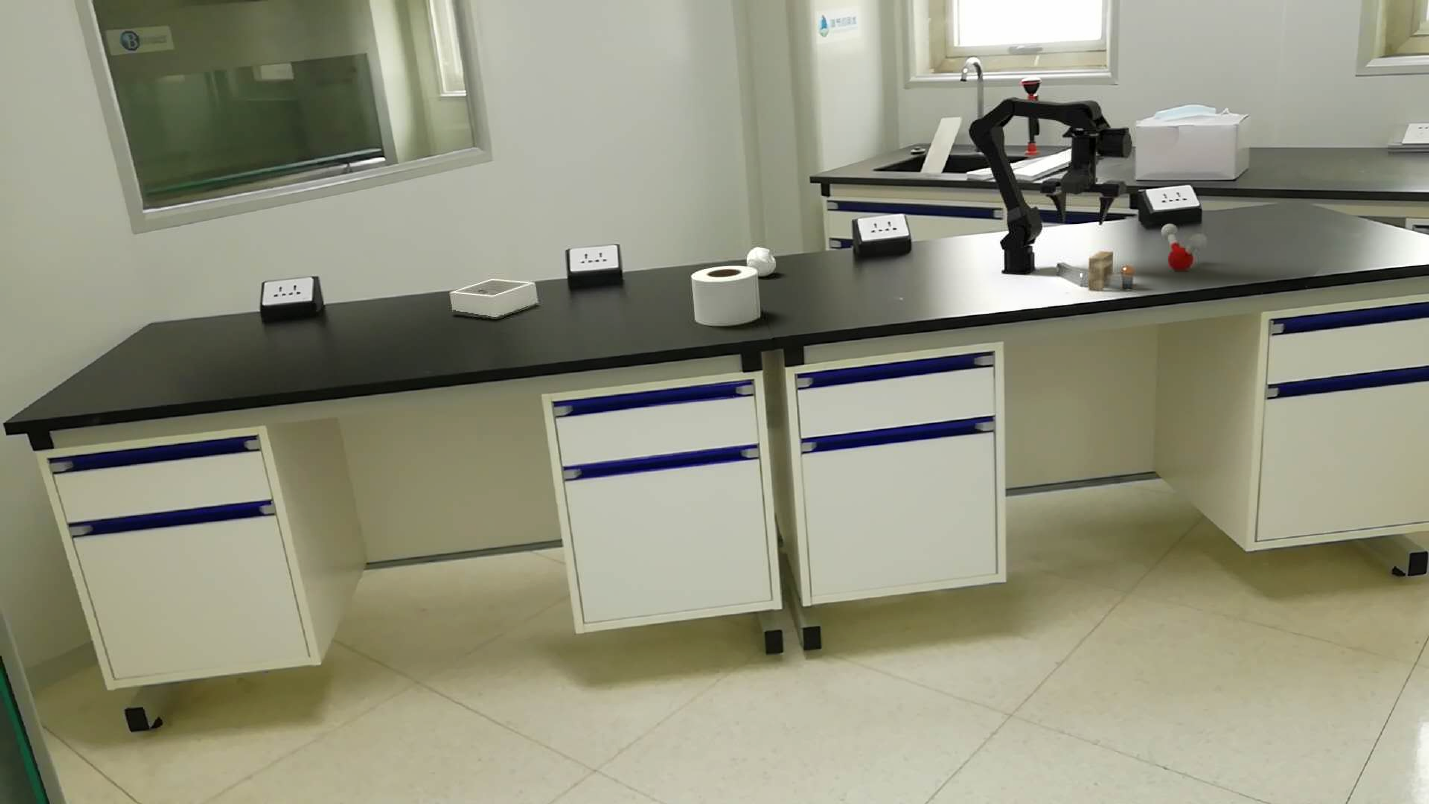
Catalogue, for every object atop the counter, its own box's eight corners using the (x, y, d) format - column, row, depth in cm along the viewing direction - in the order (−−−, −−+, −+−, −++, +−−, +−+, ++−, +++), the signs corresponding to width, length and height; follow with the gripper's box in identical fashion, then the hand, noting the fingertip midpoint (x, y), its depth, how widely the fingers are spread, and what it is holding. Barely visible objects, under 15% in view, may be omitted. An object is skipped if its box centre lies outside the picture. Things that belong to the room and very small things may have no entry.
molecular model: (1209, 276, 267) (1211, 233, 264) (1186, 279, 267) (1188, 236, 264) (1173, 261, 284) (1175, 221, 281) (1151, 264, 284) (1153, 223, 280)
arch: (1088, 290, 266) (1089, 258, 263) (1099, 282, 271) (1100, 251, 269) (1101, 291, 264) (1102, 258, 261) (1112, 283, 269) (1113, 251, 267)
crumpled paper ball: (773, 279, 306) (771, 250, 303) (745, 280, 307) (743, 251, 305) (778, 272, 313) (776, 243, 311) (750, 273, 315) (748, 245, 312)
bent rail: (1040, 278, 281) (1040, 256, 279) (1060, 273, 283) (1060, 251, 282) (1115, 293, 261) (1115, 270, 259) (1135, 288, 263) (1136, 265, 262)
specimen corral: (453, 315, 300) (449, 292, 298) (495, 300, 311) (492, 278, 309) (496, 320, 291) (492, 296, 289) (538, 305, 302) (535, 282, 300)
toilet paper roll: (774, 312, 273) (770, 267, 269) (731, 329, 262) (727, 282, 259) (724, 306, 283) (720, 263, 279) (681, 322, 272) (677, 277, 269)
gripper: (1031, 161, 269) (1029, 227, 275) (1110, 163, 258) (1107, 233, 263) (1050, 154, 278) (1049, 218, 283) (1128, 156, 266) (1125, 223, 271)
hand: (1081, 223), depth 275 cm, fingers open, 9 cm apart
